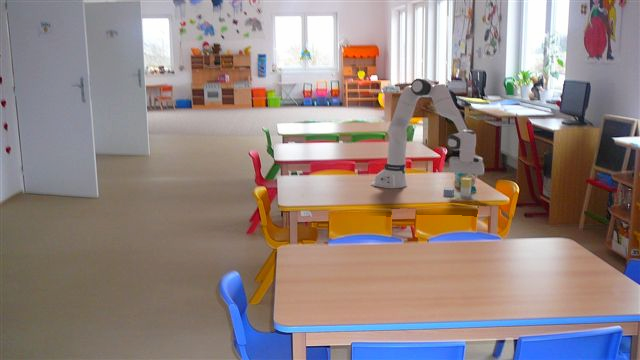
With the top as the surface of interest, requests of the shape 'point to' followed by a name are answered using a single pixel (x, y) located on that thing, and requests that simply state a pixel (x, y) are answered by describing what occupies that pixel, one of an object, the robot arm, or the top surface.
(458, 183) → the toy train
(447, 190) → the blue block
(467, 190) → the white block
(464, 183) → the mustard block
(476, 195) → the build plate
